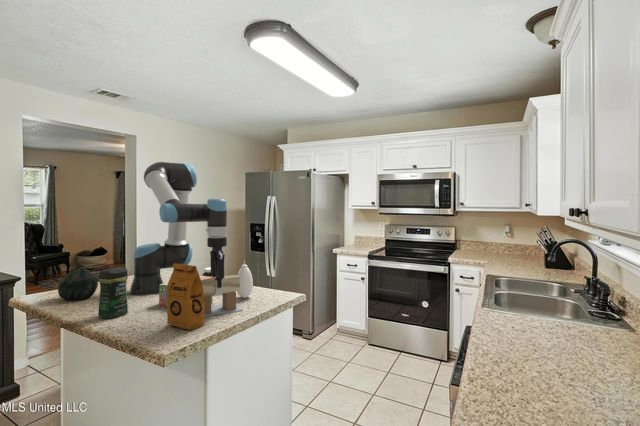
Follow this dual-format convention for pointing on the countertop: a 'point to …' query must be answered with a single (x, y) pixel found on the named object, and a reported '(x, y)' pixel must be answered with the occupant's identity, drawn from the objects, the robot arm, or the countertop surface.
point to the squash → (77, 284)
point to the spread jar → (207, 272)
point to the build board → (221, 311)
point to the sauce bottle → (245, 281)
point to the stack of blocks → (164, 292)
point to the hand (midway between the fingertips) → (217, 293)
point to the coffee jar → (113, 292)
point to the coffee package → (185, 298)
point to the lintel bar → (228, 285)
